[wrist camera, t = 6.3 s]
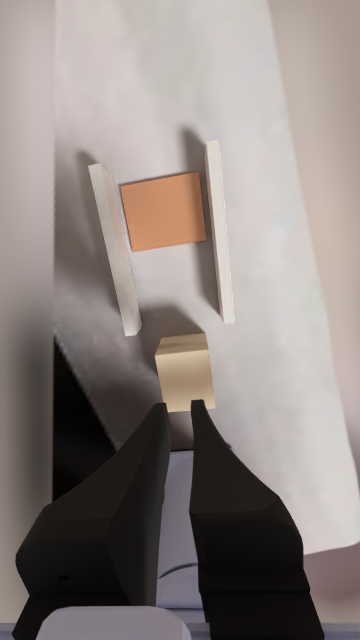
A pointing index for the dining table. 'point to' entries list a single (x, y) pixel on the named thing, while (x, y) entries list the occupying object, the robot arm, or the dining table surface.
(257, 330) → the dining table surface
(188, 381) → the block
